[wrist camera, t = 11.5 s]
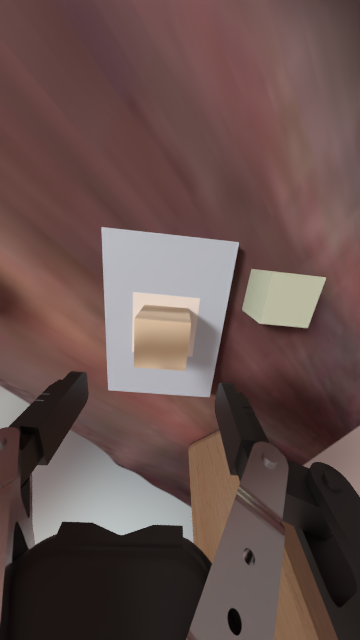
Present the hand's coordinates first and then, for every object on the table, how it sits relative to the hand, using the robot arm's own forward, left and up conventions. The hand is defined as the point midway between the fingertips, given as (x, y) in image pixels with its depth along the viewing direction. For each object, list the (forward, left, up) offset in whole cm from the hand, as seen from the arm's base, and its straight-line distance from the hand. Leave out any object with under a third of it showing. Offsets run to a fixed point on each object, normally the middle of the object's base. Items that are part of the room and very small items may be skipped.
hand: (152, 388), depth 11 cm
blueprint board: (0, 0, -12) cm, 12 cm away
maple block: (0, 0, -11) cm, 11 cm away
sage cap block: (-5, +12, -13) cm, 18 cm away
